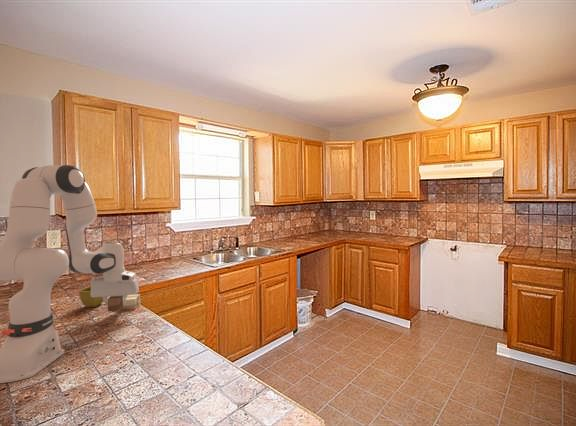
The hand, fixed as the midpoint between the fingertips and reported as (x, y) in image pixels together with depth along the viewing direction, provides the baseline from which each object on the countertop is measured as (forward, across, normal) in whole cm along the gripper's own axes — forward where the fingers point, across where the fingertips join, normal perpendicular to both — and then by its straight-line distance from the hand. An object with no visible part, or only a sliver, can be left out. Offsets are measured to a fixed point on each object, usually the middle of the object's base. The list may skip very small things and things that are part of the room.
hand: (115, 304), depth 145 cm
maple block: (+5, +4, +10) cm, 12 cm away
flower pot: (+5, -16, +16) cm, 23 cm away
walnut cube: (+2, 0, 0) cm, 2 cm away
